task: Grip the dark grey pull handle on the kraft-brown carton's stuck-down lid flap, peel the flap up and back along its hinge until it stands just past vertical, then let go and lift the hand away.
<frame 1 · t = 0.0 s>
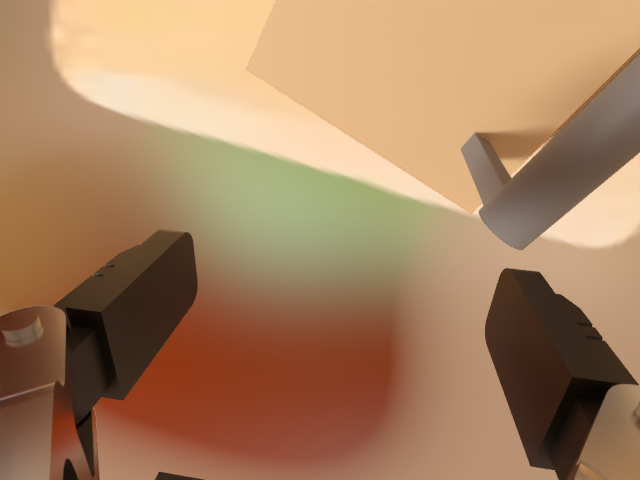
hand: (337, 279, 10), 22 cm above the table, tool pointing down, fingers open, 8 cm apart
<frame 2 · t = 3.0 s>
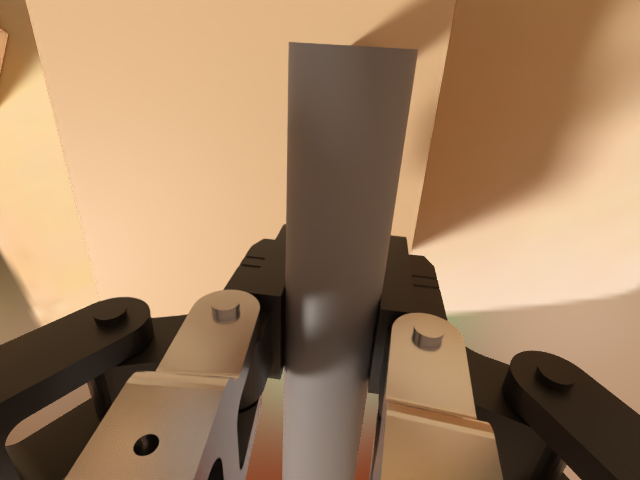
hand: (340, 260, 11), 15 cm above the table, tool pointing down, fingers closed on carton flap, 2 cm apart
carton flap: (196, 238, 12), point 14 cm above the table, hinge at -0.1°, touching gripper
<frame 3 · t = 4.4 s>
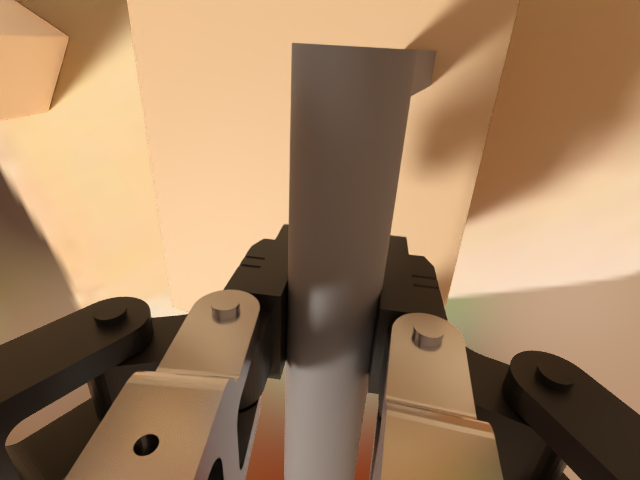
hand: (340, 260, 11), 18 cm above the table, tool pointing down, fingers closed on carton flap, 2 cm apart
milk: (22, 50, 27), on the table
carton flap: (238, 226, 13), point 16 cm above the table, hinge at 14.1°, touching gripper
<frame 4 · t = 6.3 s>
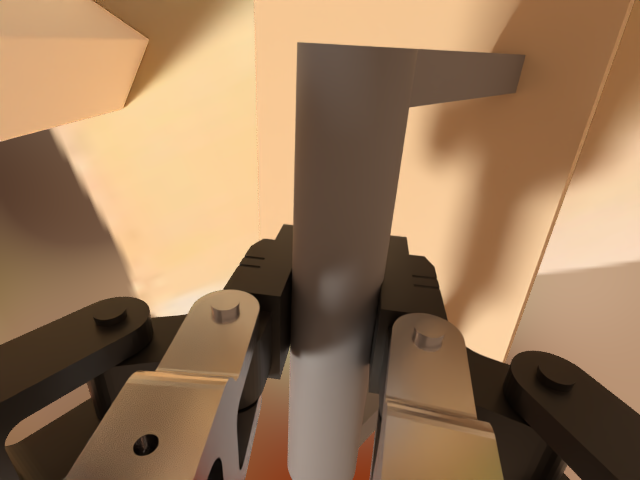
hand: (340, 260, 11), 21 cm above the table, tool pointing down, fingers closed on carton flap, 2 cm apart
milk: (101, 52, 29), on the table
carton flap: (300, 215, 14), point 18 cm above the table, hinge at 36.8°, touching gripper
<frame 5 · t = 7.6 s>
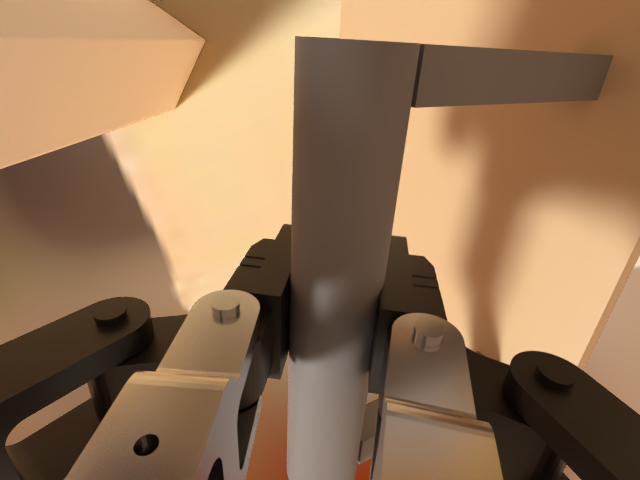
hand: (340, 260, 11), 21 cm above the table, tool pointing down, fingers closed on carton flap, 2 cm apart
milk: (156, 52, 29), on the table
carton flap: (346, 216, 14), point 18 cm above the table, hinge at 53.7°, touching gripper
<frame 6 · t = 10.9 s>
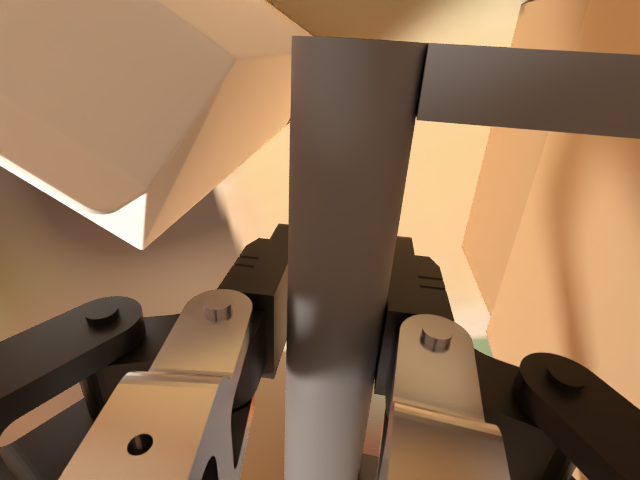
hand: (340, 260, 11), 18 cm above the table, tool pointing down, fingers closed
carton: (597, 151, 26), on the table
milk: (270, 63, 26), on the table
carton flap: (465, 252, 12), point 17 cm above the table, hinge at 93.6°
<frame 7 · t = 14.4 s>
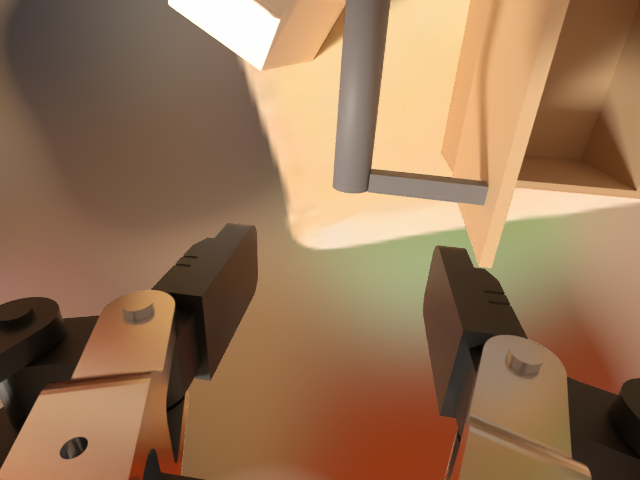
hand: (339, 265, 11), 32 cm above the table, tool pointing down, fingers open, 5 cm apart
carton: (534, 74, 36), on the table
milk: (303, 13, 37), on the table
carton flap: (425, 78, 23), point 17 cm above the table, hinge at 93.6°
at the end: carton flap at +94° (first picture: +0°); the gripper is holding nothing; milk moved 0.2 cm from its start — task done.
